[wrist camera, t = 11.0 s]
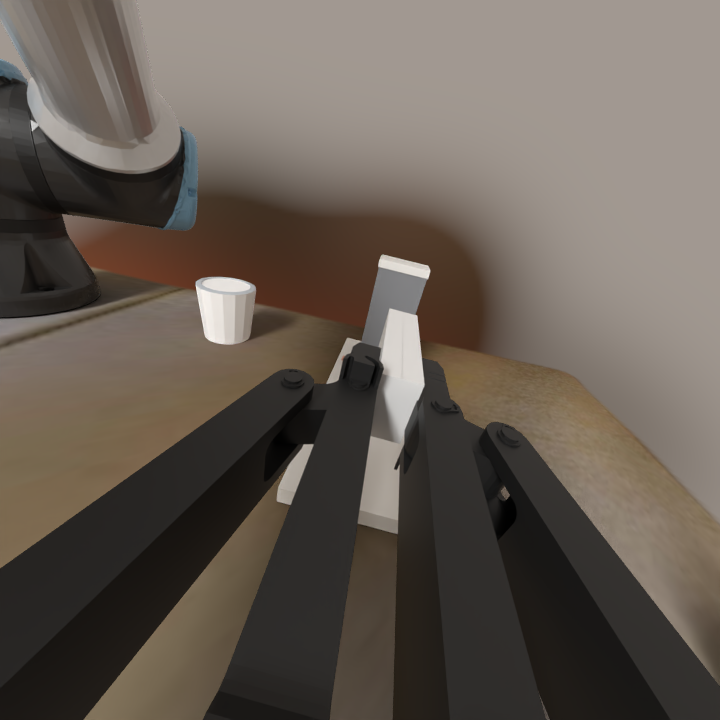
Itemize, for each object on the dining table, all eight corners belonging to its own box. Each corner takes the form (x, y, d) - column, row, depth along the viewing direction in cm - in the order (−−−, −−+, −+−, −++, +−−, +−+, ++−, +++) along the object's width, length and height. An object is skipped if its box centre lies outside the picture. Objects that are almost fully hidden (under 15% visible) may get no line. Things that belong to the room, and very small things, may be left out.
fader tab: (396, 376, 34) (430, 271, 28) (354, 366, 34) (380, 258, 28) (396, 364, 37) (428, 265, 31) (358, 354, 37) (382, 254, 31)
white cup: (206, 349, 34) (202, 294, 30) (194, 325, 38) (189, 275, 35) (262, 343, 38) (264, 293, 35) (245, 322, 42) (245, 276, 39)
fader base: (415, 539, 19) (422, 525, 19) (276, 501, 20) (278, 486, 19) (409, 362, 42) (412, 353, 41) (345, 346, 42) (347, 336, 42)
